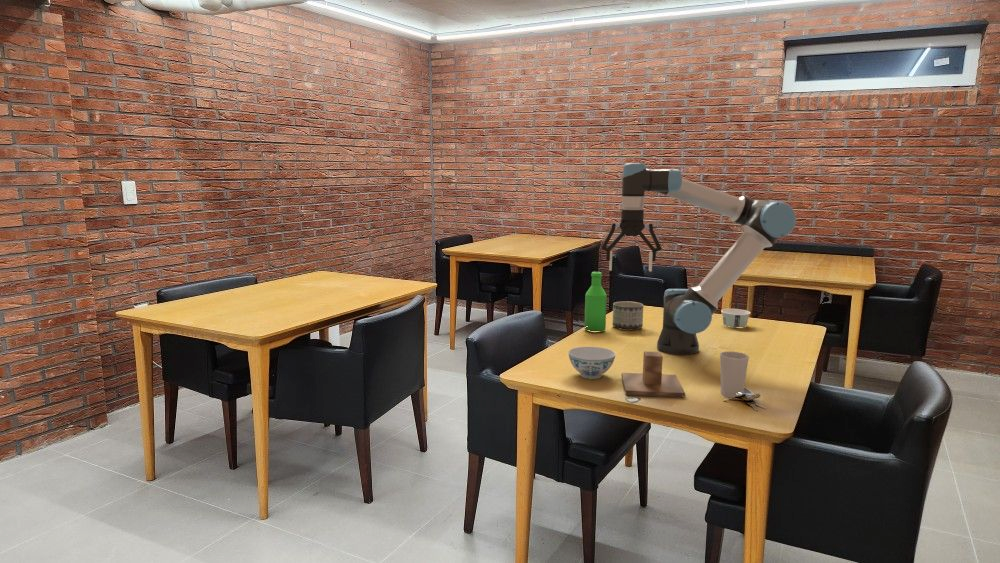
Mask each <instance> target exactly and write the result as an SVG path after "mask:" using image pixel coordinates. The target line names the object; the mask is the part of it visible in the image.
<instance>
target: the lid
mask: <svg viewBox="0 0 1000 563" xmlns="http://www.w3.org/2000/svg"><path fill="white" fill-rule="evenodd" d="M642 361H643V365H642V373H638V372H621V380H622V384H623V388H624V393H625V394H626V395H627V394H643V395H666V396H683V397H686V392H685V391H684V388H683V386H682V384H681V382H680V380H679V378H678V377H677V375H676V374H665V373H664V374H663V361H664V360H663V355H662V351H643V360H642Z"/></svg>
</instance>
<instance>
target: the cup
mask: <svg viewBox="0 0 1000 563" xmlns="http://www.w3.org/2000/svg"><path fill="white" fill-rule="evenodd" d="M749 358H750V356H749V355H748V354H746V353H743V352H740V351H731V350H729V351H721V352H720V353H719V366H720V367H719V370H720V395H722V396H724V397H726V398H731V399H735V398H734V397H735V396H736V393H738V392H742V391H743V392H744V389H745V382H746V376H747V371H748V370H747V369H748V365H749Z"/></svg>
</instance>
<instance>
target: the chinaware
mask: <svg viewBox="0 0 1000 563" xmlns="http://www.w3.org/2000/svg"><path fill="white" fill-rule="evenodd" d="M615 357H616V352H615V351H614V350H611V349H608V348H605V347H601V346H600V347H599V346H578V347H574V348H571V349H569V350H568V358H569V362H570V364H571V365H572V367H573V368H574V369H575V370H576V371H577V372H578V373H580V376H581V377H582V378H584V379H587V378H588V380H596V379H597V378H598V379H600V378H602V376H603V374H605V373H606V372H608V371H609V370H610V369H611V367H612V365H613V364H614V361H615V359H616V358H615ZM598 379H597V380H598Z"/></svg>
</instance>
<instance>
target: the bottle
mask: <svg viewBox="0 0 1000 563" xmlns="http://www.w3.org/2000/svg"><path fill="white" fill-rule="evenodd" d="M590 276H591V285H590V287H589V288H588V290H587V291H586V292H585V295H584V296H585V297H584V300H585V301H584V329H585V331H586V330H590V331H603V332H604V331H605V330H606V327H607V326H606V325H607V324H606V322H607V300H608V299H607V296H608V295H607V293H606V291H605V289H604V288H603V286H602V277H603V273H602V272H600V271H592V272H591V274H590ZM586 326H588V327H586ZM585 327H586V328H585Z"/></svg>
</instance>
